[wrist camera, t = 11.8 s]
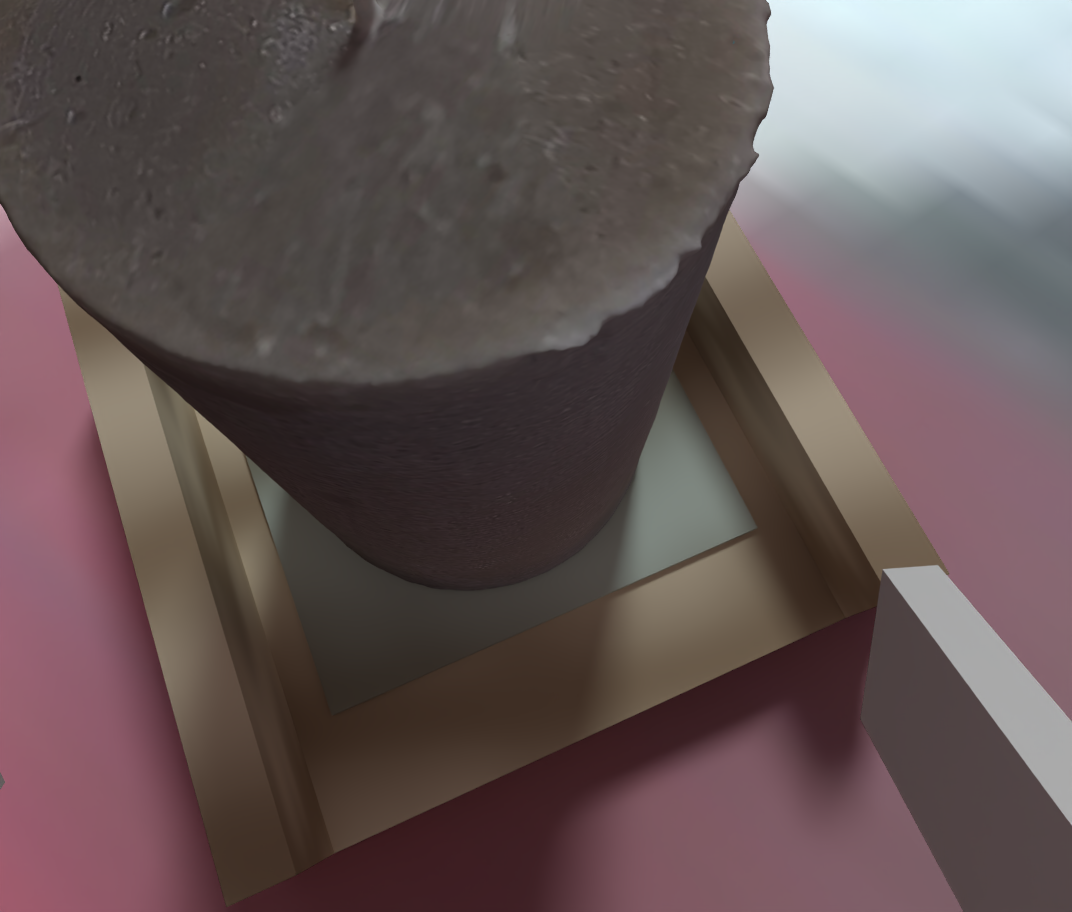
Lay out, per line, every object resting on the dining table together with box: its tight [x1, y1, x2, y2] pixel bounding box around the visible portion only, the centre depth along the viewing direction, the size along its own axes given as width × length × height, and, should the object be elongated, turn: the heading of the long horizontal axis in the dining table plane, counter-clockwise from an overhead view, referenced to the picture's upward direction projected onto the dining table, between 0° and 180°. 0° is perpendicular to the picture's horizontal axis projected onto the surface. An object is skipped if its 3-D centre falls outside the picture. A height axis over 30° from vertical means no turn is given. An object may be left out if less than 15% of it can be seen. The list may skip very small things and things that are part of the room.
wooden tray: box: [58, 210, 949, 907], centre depth 22 cm, size 18×18×5 cm
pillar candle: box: [0, 0, 774, 591], centre depth 15 cm, size 10×10×15 cm
